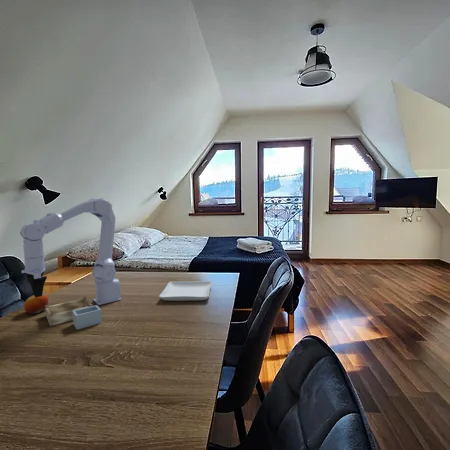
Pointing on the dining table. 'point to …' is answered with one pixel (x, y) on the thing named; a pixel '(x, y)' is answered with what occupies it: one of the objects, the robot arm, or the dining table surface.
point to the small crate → (87, 317)
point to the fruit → (35, 304)
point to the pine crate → (64, 311)
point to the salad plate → (186, 291)
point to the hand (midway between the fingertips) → (37, 293)
